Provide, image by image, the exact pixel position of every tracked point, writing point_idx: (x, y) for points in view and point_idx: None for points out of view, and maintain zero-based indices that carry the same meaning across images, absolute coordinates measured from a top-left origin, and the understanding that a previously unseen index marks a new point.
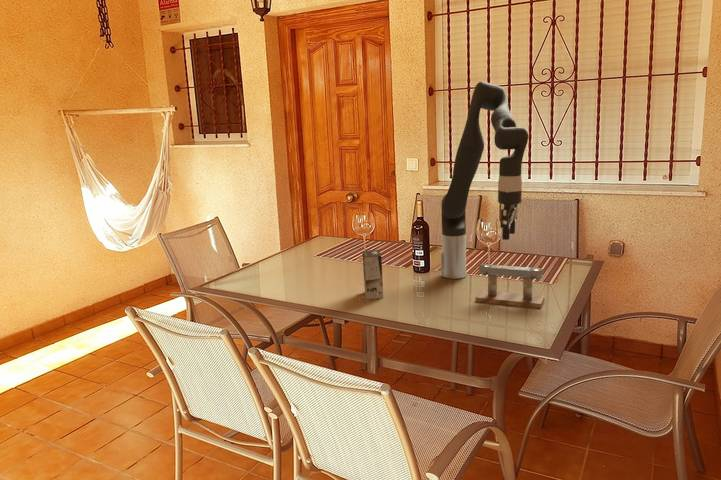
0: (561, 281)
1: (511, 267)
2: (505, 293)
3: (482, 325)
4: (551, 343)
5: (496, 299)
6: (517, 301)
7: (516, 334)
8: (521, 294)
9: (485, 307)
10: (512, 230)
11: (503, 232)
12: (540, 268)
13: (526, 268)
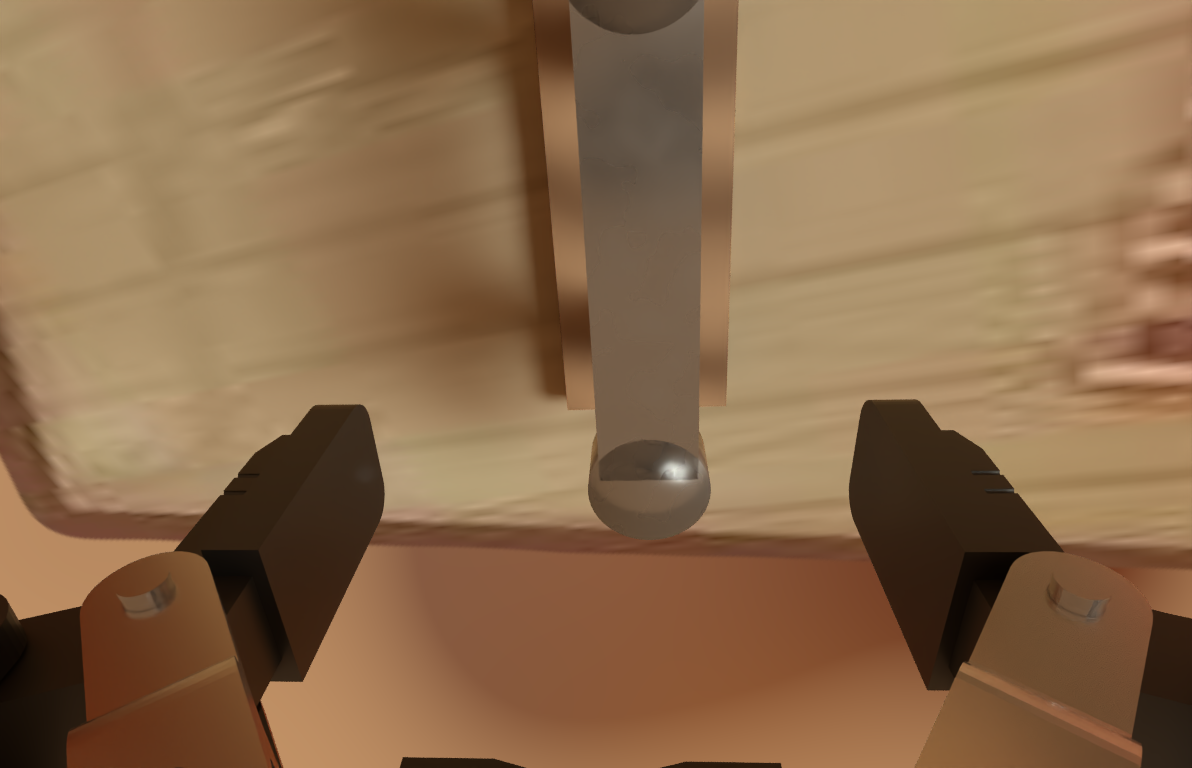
0: (1147, 432)
1: (652, 275)
2: (705, 135)
3: (106, 122)
4: (130, 509)
5: (542, 101)
6: (557, 265)
7: (118, 348)
8: (716, 260)
9: (431, 35)
10: (875, 513)
11: (206, 521)
12: (696, 518)
13: (661, 415)
